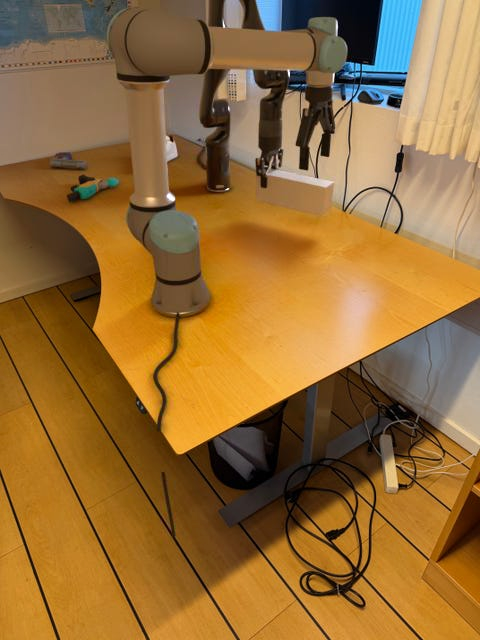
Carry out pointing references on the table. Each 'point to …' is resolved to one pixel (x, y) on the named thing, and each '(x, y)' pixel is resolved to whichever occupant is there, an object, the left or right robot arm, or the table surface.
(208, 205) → the table surface
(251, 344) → the table surface
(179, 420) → the table surface
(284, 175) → the box
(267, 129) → the right robot arm
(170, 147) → the sneaker
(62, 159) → the toy gun
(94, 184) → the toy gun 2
